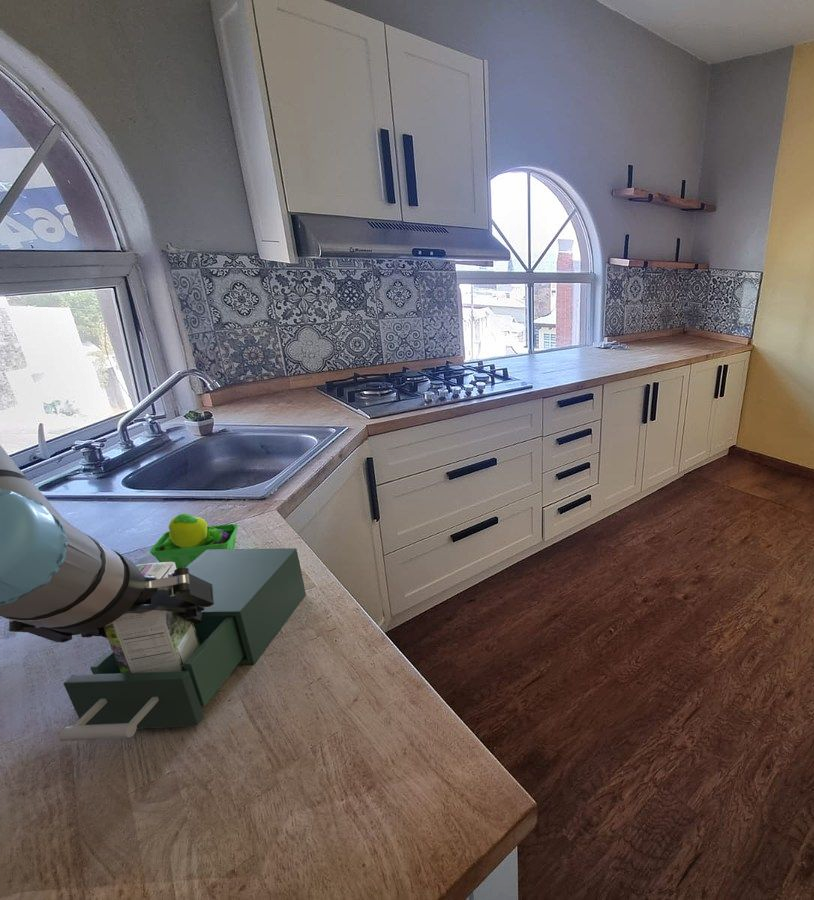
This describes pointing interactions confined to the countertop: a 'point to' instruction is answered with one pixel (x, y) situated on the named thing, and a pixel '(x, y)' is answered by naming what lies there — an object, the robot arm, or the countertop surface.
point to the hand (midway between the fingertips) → (163, 621)
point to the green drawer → (153, 688)
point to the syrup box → (152, 635)
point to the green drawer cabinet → (252, 591)
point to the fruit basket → (192, 540)
